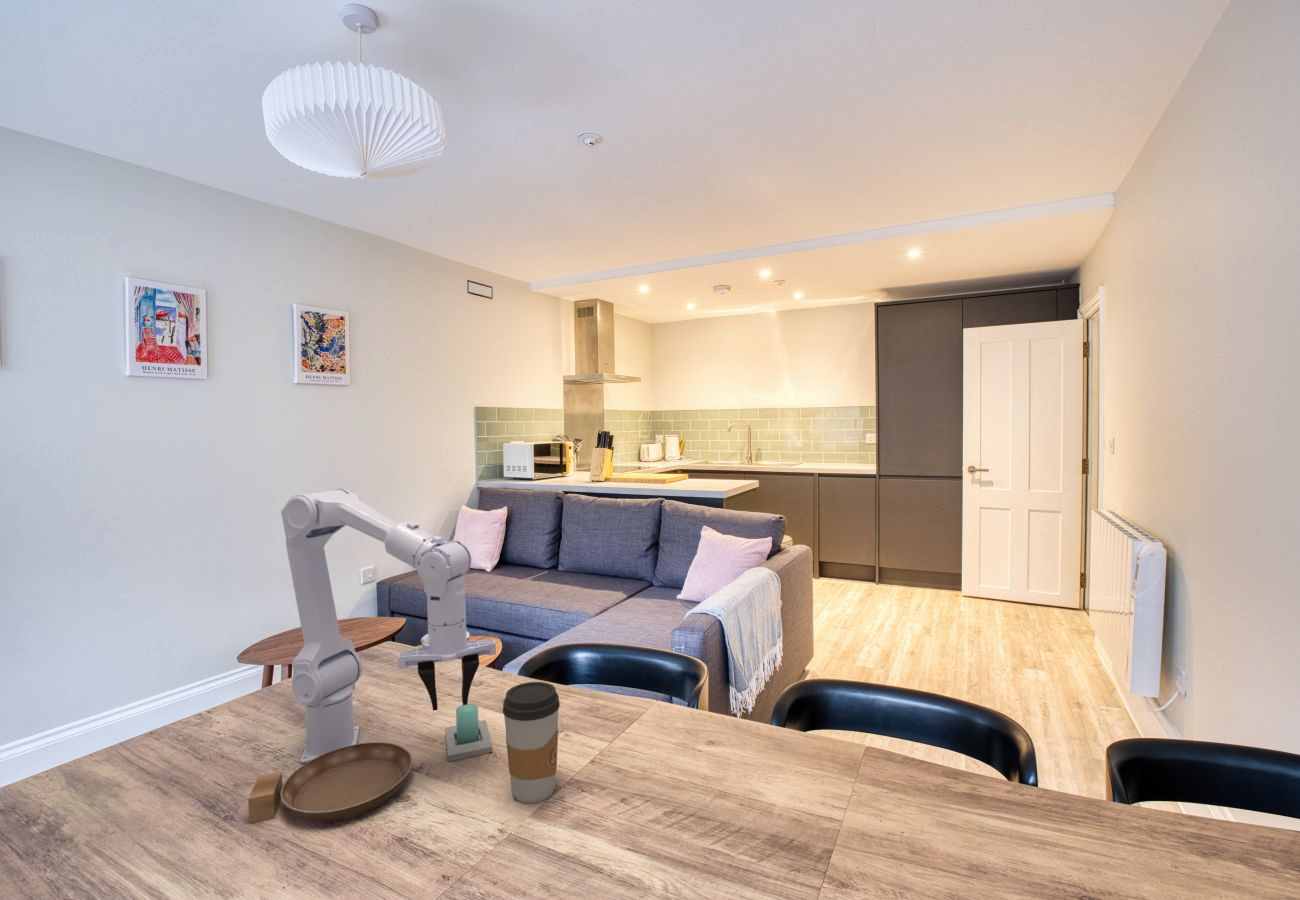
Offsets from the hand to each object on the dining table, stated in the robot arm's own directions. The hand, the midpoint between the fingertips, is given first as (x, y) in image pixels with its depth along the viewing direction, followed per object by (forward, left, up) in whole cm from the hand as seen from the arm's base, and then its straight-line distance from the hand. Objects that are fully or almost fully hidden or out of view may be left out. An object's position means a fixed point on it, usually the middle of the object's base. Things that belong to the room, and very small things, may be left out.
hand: (450, 704), depth 96 cm
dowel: (-8, +3, -10) cm, 13 cm away
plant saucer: (0, -15, -11) cm, 18 cm away
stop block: (0, -26, -10) cm, 28 cm away
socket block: (-8, +3, -10) cm, 13 cm away
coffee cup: (+11, +11, -11) cm, 19 cm away
